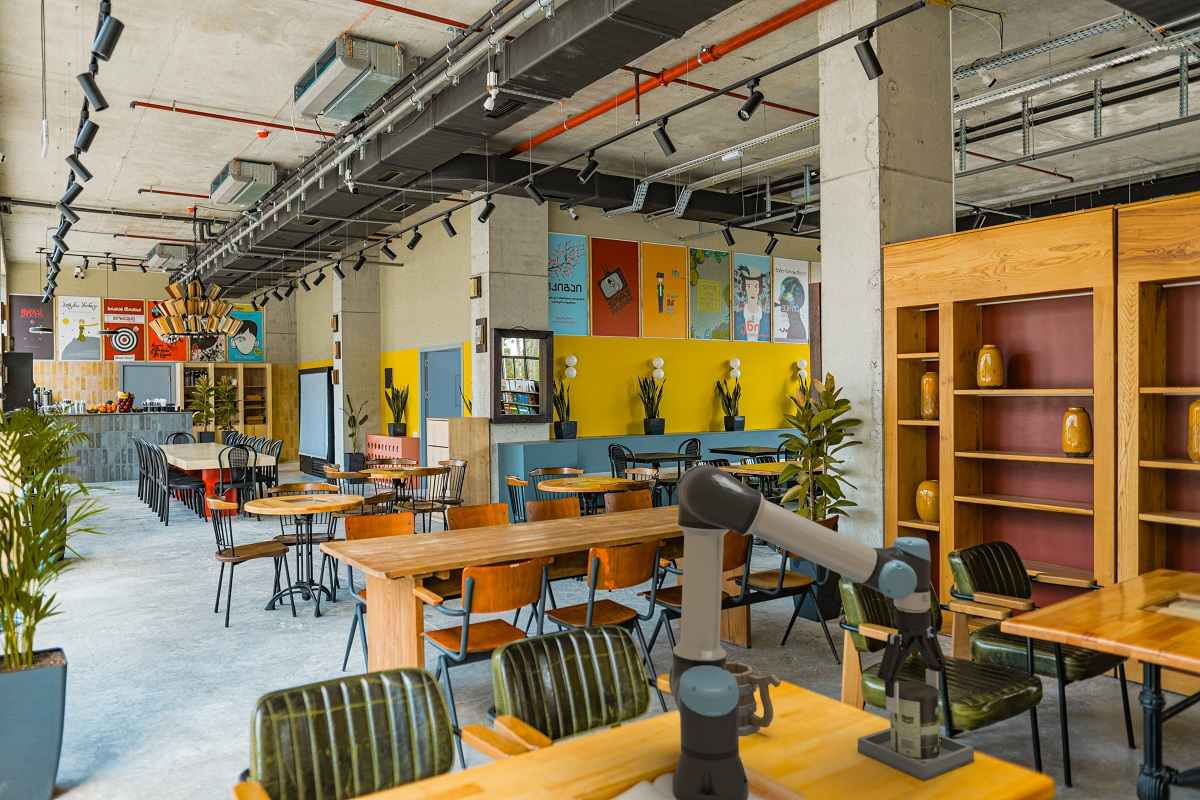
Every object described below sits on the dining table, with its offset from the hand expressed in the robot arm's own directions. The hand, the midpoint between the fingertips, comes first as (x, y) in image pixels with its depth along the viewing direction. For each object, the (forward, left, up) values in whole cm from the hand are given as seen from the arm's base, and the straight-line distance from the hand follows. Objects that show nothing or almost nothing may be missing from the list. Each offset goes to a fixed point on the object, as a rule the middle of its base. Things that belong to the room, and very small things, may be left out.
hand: (912, 705), depth 176 cm
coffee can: (0, 0, -11) cm, 11 cm away
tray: (0, 0, -11) cm, 11 cm away
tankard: (-21, +32, -11) cm, 40 cm away
